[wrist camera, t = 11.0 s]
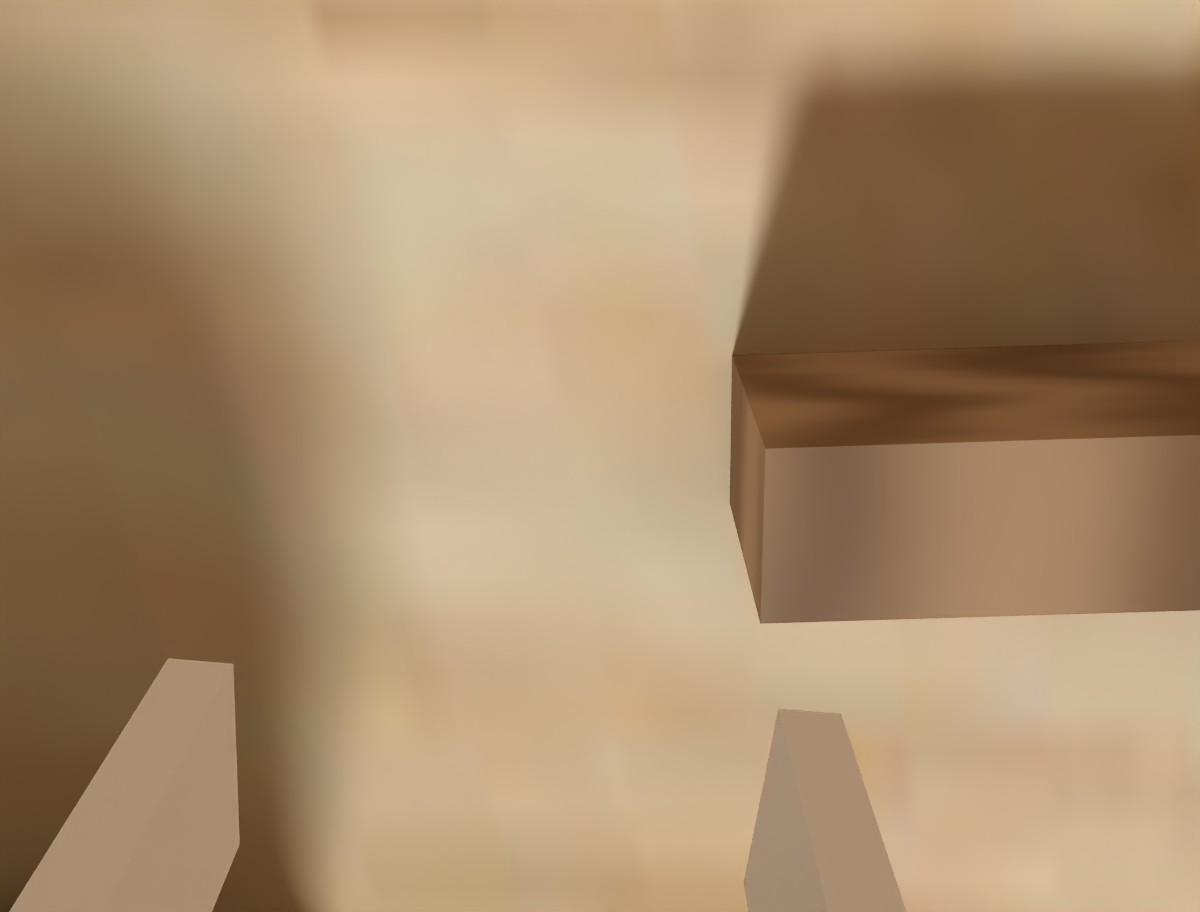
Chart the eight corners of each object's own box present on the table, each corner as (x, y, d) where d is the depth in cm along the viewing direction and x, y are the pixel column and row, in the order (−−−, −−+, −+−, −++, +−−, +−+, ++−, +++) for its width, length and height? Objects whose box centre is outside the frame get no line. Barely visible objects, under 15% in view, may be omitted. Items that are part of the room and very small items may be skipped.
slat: (729, 499, 29) (760, 623, 23) (731, 353, 27) (765, 448, 22) (1425, 477, 29) (1623, 597, 23) (1469, 328, 27) (1691, 419, 22)
